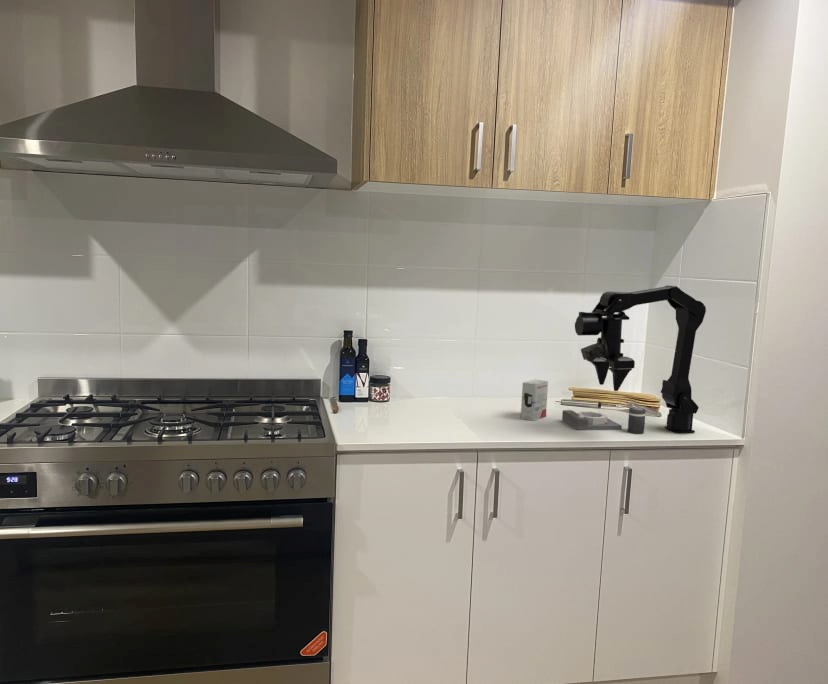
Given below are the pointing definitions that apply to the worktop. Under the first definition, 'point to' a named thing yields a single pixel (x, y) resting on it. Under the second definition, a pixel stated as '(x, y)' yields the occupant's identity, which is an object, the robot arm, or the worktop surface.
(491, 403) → the worktop surface
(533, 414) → the ink box
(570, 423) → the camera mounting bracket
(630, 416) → the lens
